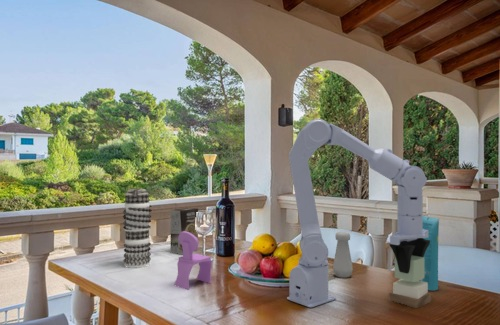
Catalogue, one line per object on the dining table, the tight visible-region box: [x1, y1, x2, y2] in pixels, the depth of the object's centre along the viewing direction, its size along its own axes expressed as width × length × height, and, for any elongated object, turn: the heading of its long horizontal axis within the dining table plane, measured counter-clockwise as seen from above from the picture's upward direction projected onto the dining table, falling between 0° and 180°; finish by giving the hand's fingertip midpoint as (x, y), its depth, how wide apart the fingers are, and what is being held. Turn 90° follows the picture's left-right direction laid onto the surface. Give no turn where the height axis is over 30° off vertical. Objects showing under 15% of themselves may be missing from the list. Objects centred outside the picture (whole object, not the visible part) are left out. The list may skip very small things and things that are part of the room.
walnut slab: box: [388, 290, 432, 309], centre depth 100 cm, size 7×7×2 cm
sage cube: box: [394, 255, 424, 282], centre depth 100 cm, size 5×5×5 cm
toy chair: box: [173, 231, 213, 291], centre depth 114 cm, size 8×9×15 cm
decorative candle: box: [122, 188, 153, 268], centre depth 135 cm, size 9×9×25 cm
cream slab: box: [392, 279, 429, 299], centre depth 100 cm, size 6×6×2 cm
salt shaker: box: [332, 231, 354, 279], centre depth 121 cm, size 6×6×13 cm
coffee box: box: [170, 207, 199, 255], centre depth 155 cm, size 9×6×16 cm
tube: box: [418, 215, 440, 291], centre depth 109 cm, size 7×5×19 cm, turn 26°
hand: (409, 270), depth 100 cm, fingers closed on sage cube, 5 cm apart
